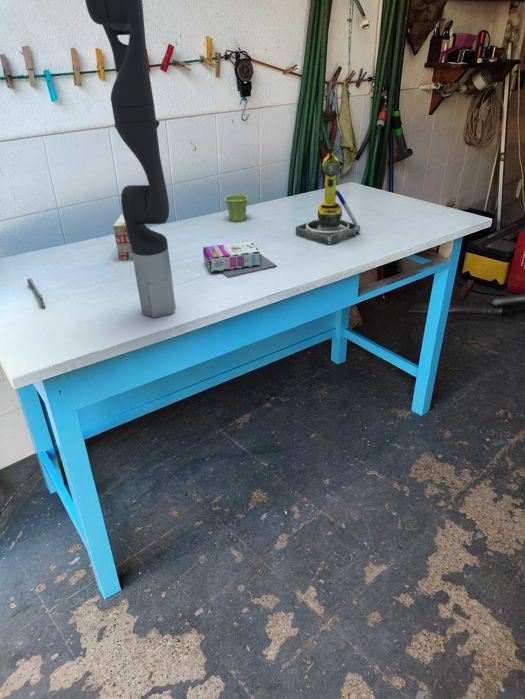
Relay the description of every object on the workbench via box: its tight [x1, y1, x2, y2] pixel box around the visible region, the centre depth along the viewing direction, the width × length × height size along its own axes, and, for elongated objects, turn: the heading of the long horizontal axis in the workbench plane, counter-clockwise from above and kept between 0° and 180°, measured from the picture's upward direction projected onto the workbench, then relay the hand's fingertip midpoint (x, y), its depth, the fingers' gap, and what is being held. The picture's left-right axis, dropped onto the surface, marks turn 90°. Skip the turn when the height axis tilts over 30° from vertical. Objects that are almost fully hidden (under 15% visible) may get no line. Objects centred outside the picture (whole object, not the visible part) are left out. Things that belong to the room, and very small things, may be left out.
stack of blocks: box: [112, 213, 148, 261], centre depth 181 cm, size 21×6×12 cm, turn 1°
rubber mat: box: [220, 253, 278, 279], centre depth 171 cm, size 20×17×1 cm
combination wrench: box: [27, 278, 46, 309], centre depth 152 cm, size 4×1×20 cm
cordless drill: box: [295, 153, 361, 246], centre depth 184 cm, size 18×19×28 cm
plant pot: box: [224, 194, 249, 222], centre depth 208 cm, size 9×9×9 cm
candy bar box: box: [202, 240, 261, 273], centre depth 167 cm, size 11×5×16 cm
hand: (141, 157), depth 151 cm, fingers closed
